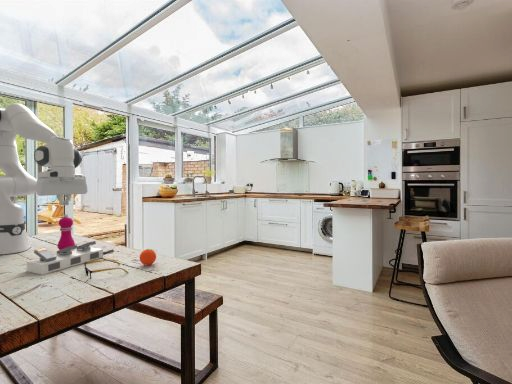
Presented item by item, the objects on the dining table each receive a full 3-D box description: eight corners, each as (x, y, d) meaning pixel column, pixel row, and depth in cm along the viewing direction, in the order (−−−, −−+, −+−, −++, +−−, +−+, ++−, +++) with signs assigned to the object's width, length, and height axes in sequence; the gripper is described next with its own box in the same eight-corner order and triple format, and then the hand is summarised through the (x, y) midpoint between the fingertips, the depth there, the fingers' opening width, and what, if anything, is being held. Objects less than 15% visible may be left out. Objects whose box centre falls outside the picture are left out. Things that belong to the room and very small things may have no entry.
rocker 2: (57, 254, 125) (56, 251, 125) (65, 252, 128) (65, 249, 128) (69, 249, 122) (68, 246, 122) (77, 248, 125) (76, 244, 125)
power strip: (26, 271, 115) (26, 258, 114) (106, 250, 149) (106, 240, 148) (42, 274, 111) (42, 261, 110) (120, 252, 145) (120, 242, 145)
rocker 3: (76, 249, 133) (76, 246, 133) (84, 248, 137) (83, 245, 137) (88, 245, 130) (87, 242, 130) (96, 243, 133) (95, 240, 134)
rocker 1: (33, 252, 117) (34, 249, 116) (43, 250, 120) (44, 247, 120) (46, 261, 114) (47, 258, 113) (56, 259, 117) (56, 256, 117)
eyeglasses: (82, 271, 117) (82, 261, 116) (120, 265, 125) (120, 256, 125) (87, 281, 105) (87, 270, 105) (128, 273, 114) (128, 264, 114)
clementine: (154, 261, 131) (154, 245, 130) (161, 264, 126) (161, 248, 126) (137, 264, 125) (136, 248, 125) (143, 268, 120) (143, 251, 120)
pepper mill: (66, 256, 136) (65, 215, 135) (53, 255, 138) (53, 214, 137) (78, 252, 143) (78, 213, 142) (66, 252, 145) (65, 213, 144)
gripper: (80, 174, 135) (81, 203, 135) (33, 173, 116) (34, 207, 117) (89, 174, 133) (91, 203, 133) (42, 172, 114) (44, 207, 114)
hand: (64, 205), depth 125 cm, fingers closed
